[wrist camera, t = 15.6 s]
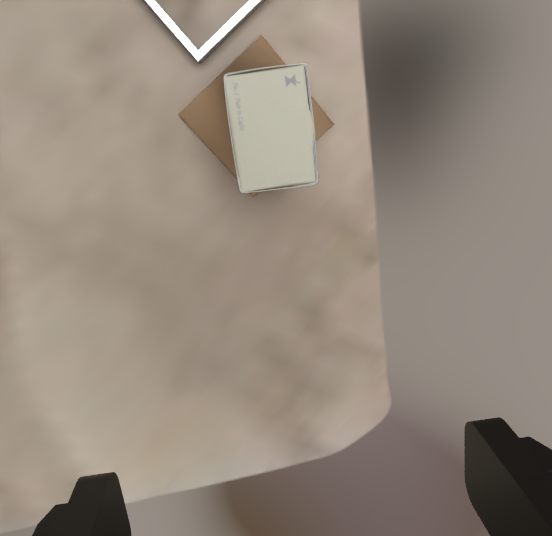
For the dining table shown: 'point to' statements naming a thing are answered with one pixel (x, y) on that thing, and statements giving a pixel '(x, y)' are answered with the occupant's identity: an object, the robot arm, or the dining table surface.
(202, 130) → the coaster
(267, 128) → the skincare box
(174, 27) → the metal square frame
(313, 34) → the dining table surface
